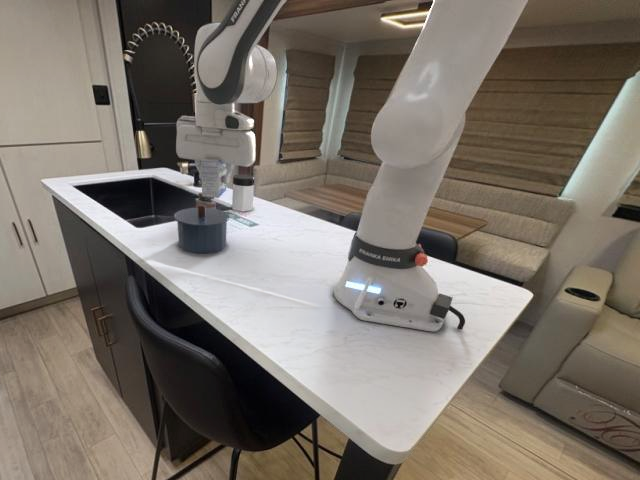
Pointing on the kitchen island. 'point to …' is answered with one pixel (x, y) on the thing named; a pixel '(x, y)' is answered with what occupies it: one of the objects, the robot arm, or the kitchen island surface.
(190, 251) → the pot
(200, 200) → the lighter
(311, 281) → the kitchen island surface
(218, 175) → the medicine box
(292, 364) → the kitchen island surface
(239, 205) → the jar
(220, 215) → the pot lid
